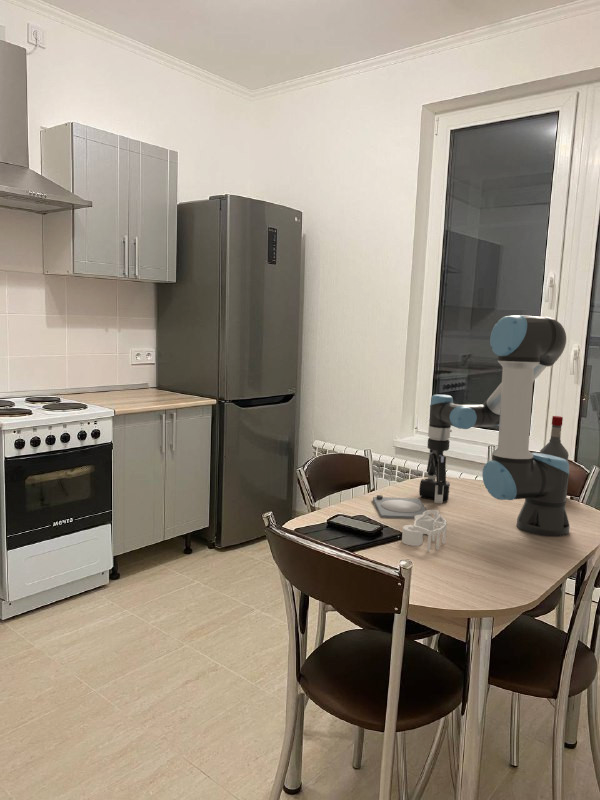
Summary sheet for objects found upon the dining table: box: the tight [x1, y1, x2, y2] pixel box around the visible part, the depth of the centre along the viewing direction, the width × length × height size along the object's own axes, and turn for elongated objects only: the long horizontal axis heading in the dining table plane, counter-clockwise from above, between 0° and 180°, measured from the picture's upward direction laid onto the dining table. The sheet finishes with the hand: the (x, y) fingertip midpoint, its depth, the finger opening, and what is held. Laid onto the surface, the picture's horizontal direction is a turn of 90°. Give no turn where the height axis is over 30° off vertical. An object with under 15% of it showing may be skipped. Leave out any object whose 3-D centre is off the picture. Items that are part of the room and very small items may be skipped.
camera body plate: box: [372, 494, 432, 520], centre depth 207 cm, size 20×16×2 cm
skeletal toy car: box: [401, 509, 448, 552], centre depth 177 cm, size 20×11×7 cm, turn 153°
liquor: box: [538, 415, 569, 462], centre depth 232 cm, size 9×9×30 cm
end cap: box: [418, 478, 451, 502], centre depth 222 cm, size 10×7×7 cm
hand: (434, 497), depth 223 cm, fingers open, 11 cm apart
